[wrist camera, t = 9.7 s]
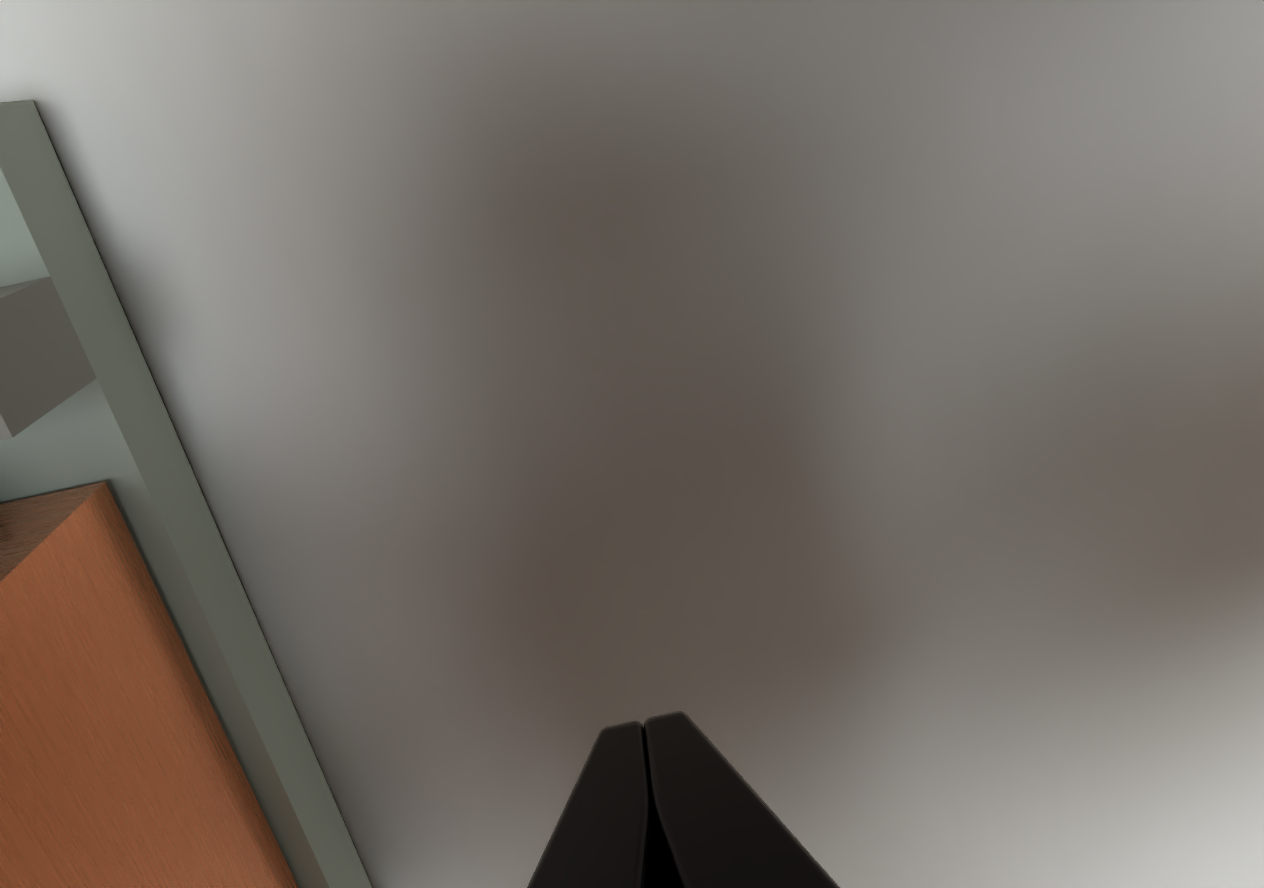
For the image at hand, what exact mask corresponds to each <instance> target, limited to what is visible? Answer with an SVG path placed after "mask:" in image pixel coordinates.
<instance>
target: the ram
mask: <svg viewBox="0 0 1264 888" xmlns="http://www.w3.org/2000/svg"><path fill="white" fill-rule="evenodd" d="M0 888H298V885H297V883H296V881H295V879H294V877H293V875H292V873H291V871H290V869H289V867H288V864H287V862H286V860H285V858H284V856H283V854H282V852H281V850H280V848H279V846H278V843H277V841H276V839H275V837H274V835H273V833H272V831H271V829H270V827H269V825H268V822H267V820H266V818H265V816H264V814H263V812H262V810H261V808H260V806H259V803H258V801H257V799H256V797H255V795H254V793H253V791H252V789H251V787H250V785H249V782H248V780H247V778H246V776H245V774H244V772H243V770H242V768H241V766H240V764H239V761H238V759H237V757H236V755H235V753H234V751H233V749H232V747H231V745H230V743H229V740H228V738H227V736H226V734H225V732H224V730H223V728H222V726H221V724H220V722H219V719H218V717H217V715H216V713H215V711H214V709H213V707H212V705H211V703H210V701H209V698H208V696H207V694H206V692H205V690H204V688H203V686H202V684H201V682H200V679H199V677H198V675H197V673H196V671H195V669H194V667H193V665H192V663H191V661H190V658H189V656H188V654H187V652H186V650H185V648H184V646H183V644H182V642H181V640H180V637H179V635H178V633H177V631H176V629H175V627H174V625H173V623H172V621H171V619H170V616H169V614H168V612H167V610H166V608H165V606H164V604H163V602H162V600H161V598H160V595H159V593H158V591H157V589H156V587H155V585H154V583H153V581H152V579H151V576H150V574H149V572H148V570H147V568H146V566H145V564H144V562H143V560H142V558H141V555H140V553H139V551H138V549H137V547H136V545H135V543H134V541H133V539H132V537H131V534H130V532H129V530H128V528H127V526H126V524H125V522H124V520H123V518H122V516H121V513H120V511H119V509H118V507H117V505H116V503H115V501H114V499H113V497H112V495H111V492H110V490H109V488H108V486H107V484H106V482H101V483H96V484H91V485H87V486H82V487H77V488H73V489H68V490H64V491H59V492H54V493H50V494H45V495H40V496H36V497H31V498H26V499H22V500H17V501H13V502H8V503H3V504H0Z"/></svg>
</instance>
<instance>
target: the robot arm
mask: <svg viewBox="0 0 1264 888" xmlns="http://www.w3.org/2000/svg"><path fill="white" fill-rule="evenodd" d="M527 888H840V887H839V886H838V885H837V884H836V883H835V881H834V880H833V879H832V878H831V877H830V876H829V875H828V873H827V872H826V871H825V870H824V869H823V868H822V867H821V866H820V864H819V863H818V862H817V861H816V860H815V859H814V858H813V857H812V855H811V854H810V853H809V852H808V851H807V850H806V849H805V848H804V846H803V845H802V844H801V843H800V842H799V841H798V840H797V838H796V837H795V836H794V835H793V834H792V833H791V832H790V831H789V829H788V828H787V827H786V826H785V825H784V824H783V823H782V822H781V820H780V819H779V818H778V817H777V816H776V815H775V814H774V812H773V811H772V810H771V809H770V808H769V807H768V806H767V805H766V803H765V802H764V801H763V800H762V799H761V798H760V797H759V796H758V794H757V793H756V792H755V791H754V790H753V789H752V788H751V786H750V785H749V784H748V783H747V782H746V781H745V780H744V779H743V777H742V776H741V775H740V774H739V773H738V772H737V771H736V770H735V768H734V767H733V766H732V765H731V764H730V763H729V762H728V761H727V759H726V758H725V757H724V756H723V755H722V754H721V753H720V751H719V750H718V749H717V748H716V747H715V746H714V745H713V744H712V742H711V741H710V740H709V739H708V738H707V737H706V736H705V735H704V733H703V732H702V731H701V730H700V729H699V728H698V727H697V725H696V724H695V723H694V722H693V721H692V720H691V719H690V718H689V716H688V715H686V714H685V713H684V712H681V711H676V712H672V713H667V714H662V715H658V716H653V717H649V718H647V719H646V720H645V723H644V726H643V724H642V723H641V722H640V721H630V722H626V723H621V724H617V725H612V726H607V727H605V728H603V729H602V730H601V731H600V733H599V735H598V737H597V739H596V741H595V743H594V745H593V748H592V750H591V752H590V754H589V756H588V758H587V760H586V763H585V765H584V767H583V769H582V771H581V773H580V775H579V778H578V780H577V782H576V784H575V786H574V788H573V790H572V793H571V795H570V797H569V799H568V801H567V803H566V805H565V808H564V810H563V812H562V814H561V816H560V818H559V820H558V823H557V825H556V827H555V829H554V831H553V833H552V835H551V838H550V840H549V842H548V844H547V846H546V848H545V850H544V853H543V855H542V857H541V859H540V861H539V863H538V865H537V868H536V870H535V872H534V874H533V876H532V878H531V880H530V883H529V885H528V887H527Z"/></svg>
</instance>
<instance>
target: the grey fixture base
mask: <svg viewBox="0 0 1264 888" xmlns="http://www.w3.org/2000/svg"><path fill="white" fill-rule="evenodd" d="M101 482H106V484H107V486H108V488H109V490H110V492H111V495H112V497H113V499H114V501H115V503H116V505H117V507H118V509H119V511H120V513H121V516H122V518H123V520H124V522H125V524H126V526H127V528H128V530H129V532H130V534H131V537H132V539H133V541H134V543H135V545H136V547H137V549H138V551H139V553H140V555H141V558H142V560H143V562H144V564H145V566H146V568H147V570H148V572H149V574H150V576H151V579H152V581H153V583H154V585H155V587H156V589H157V591H158V593H159V595H160V598H161V600H162V602H163V604H164V606H165V608H166V610H167V612H168V614H169V616H170V619H171V621H172V623H173V625H174V627H175V629H176V631H177V633H178V635H179V637H180V640H181V642H182V644H183V646H184V648H185V650H186V652H187V654H188V656H189V658H190V661H191V663H192V665H193V667H194V669H195V671H196V673H197V675H198V677H199V679H200V682H201V684H202V686H203V688H204V690H205V692H206V694H207V696H208V698H209V701H210V703H211V705H212V707H213V709H214V711H215V713H216V715H217V717H218V719H219V722H220V724H221V726H222V728H223V730H224V732H225V734H226V736H227V738H228V740H229V743H230V745H231V747H232V749H233V751H234V753H235V755H236V757H237V759H238V761H239V764H240V766H241V768H242V770H243V772H244V774H245V776H246V778H247V780H248V782H249V785H250V787H251V789H252V791H253V793H254V795H255V797H256V799H257V801H258V803H259V806H260V808H261V810H262V812H263V814H264V816H265V818H266V820H267V822H268V825H269V827H270V829H271V831H272V833H273V835H274V837H275V839H276V841H277V843H278V846H279V848H280V850H281V852H282V854H283V856H284V858H285V860H286V862H287V864H288V867H289V869H290V871H291V873H292V875H293V877H294V879H295V881H296V883H297V885H298V888H372V886H371V884H370V881H369V879H368V877H367V874H366V872H365V870H364V867H363V865H362V863H361V861H360V858H359V856H358V854H357V851H356V849H355V847H354V844H353V842H352V840H351V837H350V835H349V833H348V830H347V828H346V826H345V823H344V821H343V819H342V816H341V814H340V812H339V809H338V807H337V805H336V803H335V800H334V798H333V796H332V793H331V791H330V789H329V786H328V784H327V782H326V779H325V777H324V775H323V772H322V770H321V768H320V765H319V763H318V761H317V758H316V756H315V754H314V751H313V749H312V747H311V745H310V742H309V740H308V738H307V735H306V733H305V731H304V728H303V726H302V724H301V721H300V719H299V717H298V714H297V712H296V710H295V707H294V705H293V703H292V700H291V698H290V696H289V693H288V691H287V689H286V687H285V684H284V682H283V680H282V677H281V675H280V673H279V670H278V668H277V666H276V663H275V661H274V659H273V656H272V654H271V652H270V649H269V647H268V645H267V642H266V640H265V638H264V635H263V633H262V631H261V629H260V626H259V624H258V622H257V619H256V617H255V615H254V612H253V610H252V608H251V605H250V603H249V601H248V598H247V596H246V594H245V591H244V589H243V587H242V584H241V582H240V580H239V577H238V575H237V573H236V571H235V568H234V566H233V564H232V561H231V559H230V557H229V554H228V552H227V550H226V547H225V545H224V543H223V540H222V538H221V536H220V533H219V531H218V529H217V526H216V524H215V522H214V519H213V517H212V515H211V513H210V510H209V508H208V506H207V503H206V501H205V499H204V496H203V494H202V492H201V489H200V487H199V485H198V482H197V480H196V478H195V475H194V473H193V471H192V468H191V466H190V464H189V461H188V459H187V457H186V455H185V452H184V450H183V448H182V445H181V443H180V441H179V438H178V436H177V434H176V431H175V429H174V427H173V424H172V422H171V420H170V417H169V415H168V413H167V410H166V408H165V406H164V403H163V401H162V399H161V397H160V394H159V392H158V390H157V387H156V385H155V383H154V380H153V378H152V376H151V373H150V371H149V369H148V366H147V364H146V362H145V359H144V357H143V355H142V352H141V350H140V348H139V346H138V343H137V341H136V339H135V336H134V334H133V332H132V329H131V327H130V325H129V322H128V320H127V318H126V315H125V313H124V311H123V308H122V306H121V304H120V301H119V299H118V297H117V294H116V292H115V290H114V288H113V285H112V283H111V281H110V278H109V276H108V274H107V271H106V269H105V267H104V264H103V262H102V260H101V257H100V255H99V253H98V250H97V248H96V246H95V243H94V241H93V239H92V236H91V234H90V232H89V230H88V227H87V225H86V223H85V220H84V218H83V216H82V213H81V211H80V209H79V206H78V204H77V202H76V199H75V197H74V195H73V192H72V190H71V188H70V185H69V183H68V181H67V178H66V176H65V174H64V172H63V169H62V167H61V165H60V162H59V160H58V158H57V155H56V153H55V151H54V148H53V146H52V144H51V141H50V139H49V137H48V134H47V132H46V130H45V127H44V125H43V123H42V120H41V118H40V116H39V114H38V111H37V109H36V107H35V104H34V102H33V100H25V101H13V102H0V504H3V503H8V502H13V501H17V500H22V499H26V498H31V497H36V496H40V495H45V494H50V493H54V492H59V491H64V490H68V489H73V488H77V487H82V486H87V485H91V484H96V483H101Z"/></svg>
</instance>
